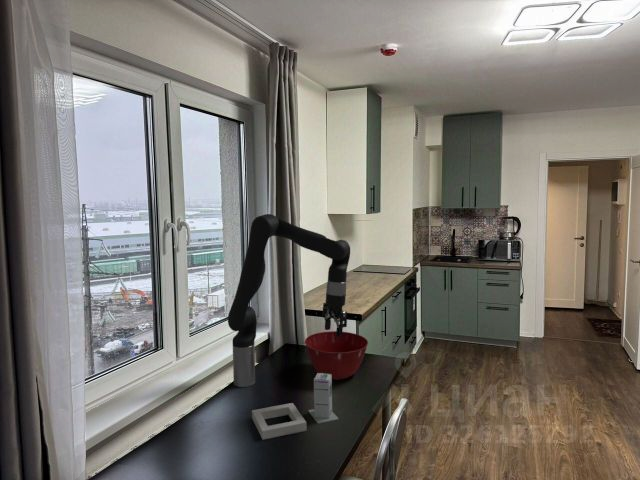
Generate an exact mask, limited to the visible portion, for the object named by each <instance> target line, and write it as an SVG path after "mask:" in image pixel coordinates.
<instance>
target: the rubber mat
mask: <svg viewBox="0 0 640 480" xmlns="http://www.w3.org/2000/svg"><path fill="white" fill-rule="evenodd" d="M307 411H308V413H309V414H310V415H311V417H312V418H313V419H314V421H315V422H316V424H317V425H319V424H324V423H329V422H333V421H339V420H340V419H339V417H338V416H337V415H336V414H335V412H333V411H332V413H331V416H330V418H321V417H315V411H314V408H313V409H308V410H307Z"/></svg>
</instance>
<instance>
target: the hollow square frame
mask: <svg viewBox="0 0 640 480" xmlns="http://www.w3.org/2000/svg"><path fill="white" fill-rule="evenodd" d="M284 416H288V417H289V418H290V420H291V421H289V422H288V421H287V422H283V423H282V422H281V423H277V424H276V423H275V424H272V425H271V424H270V425H268V424H267V422H266V420H267V419H274V418H277V417H284ZM251 419H252V421H253V423H254V424H255V427H256V429H257V431H258V433H259V435H260V437H261V439H262V441H264V440H269V439H273V438H279V437H281V436H283V437H284V436H286V435H291V434H297V433H302V432H307V430H308V429H307V428H308V427H307V424H308V423H307V421H306V420H305V418H304V417H303V415H302V414H301V413H300V411H299V409H298V408H297V407H296V405H295V404H294V403H293V402H291V403H290V402H289V403H285V404H279V405H273V406H269V407H268V406H267V407H264V408H258V409H253V410H251Z"/></svg>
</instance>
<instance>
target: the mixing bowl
mask: <svg viewBox="0 0 640 480" xmlns="http://www.w3.org/2000/svg"><path fill="white" fill-rule="evenodd" d="M304 344H305V347H306V350H307V354H308V356H309V359H310V362H311V364H312V367H313V369H315V371H316V372H317V373H327V374H331V375H332V381H333V380H334V381H336V380H341V381H342V380H344V379H347V378H349V377H351V376H353V375H354V374H356V372H357V371H358V370H359V367H360V366H361V364H362V362H363V359H364V357H365V354H366V351H367V347H368V346H369V341H368V339H367V338H366V337H364V336H362V335H360V334H358V333H353V332H349V331H342V337H336V330H334V331H333V330H331V331H329V330H328V331H321V332H316V333H313V334H311V335H309V336H307V337H305V340H304Z"/></svg>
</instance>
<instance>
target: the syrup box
mask: <svg viewBox="0 0 640 480" xmlns="http://www.w3.org/2000/svg"><path fill="white" fill-rule="evenodd" d="M332 382H333V379H332V375H331V374H327V373H318V372H317V373H316V375H315V377H314V378H313V403H314V405H313V407H314V408H313V409H314V411H315V417H321V418H330V416H331V413H332V412H333V385H332V384H333V383H332Z"/></svg>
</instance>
